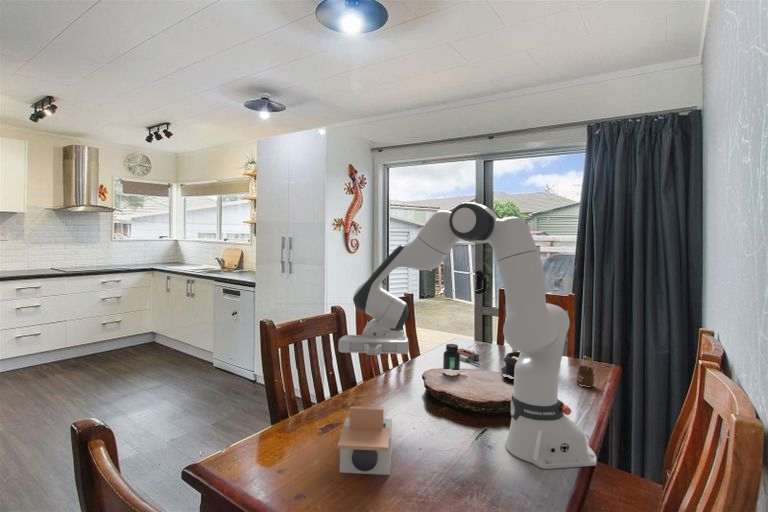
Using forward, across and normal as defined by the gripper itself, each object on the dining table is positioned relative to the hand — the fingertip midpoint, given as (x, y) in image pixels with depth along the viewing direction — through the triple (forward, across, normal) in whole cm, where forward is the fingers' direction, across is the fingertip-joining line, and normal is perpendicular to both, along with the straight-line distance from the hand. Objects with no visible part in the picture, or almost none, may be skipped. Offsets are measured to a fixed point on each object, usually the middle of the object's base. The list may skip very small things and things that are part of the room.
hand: (372, 351), depth 113 cm
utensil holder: (-51, +80, +26) cm, 98 cm away
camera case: (+10, 0, +25) cm, 27 cm away
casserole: (-60, +59, +25) cm, 87 cm away
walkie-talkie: (-81, +40, +25) cm, 93 cm away
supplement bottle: (-60, +29, +25) cm, 71 cm away
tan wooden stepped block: (+17, 0, +16) cm, 24 cm away
